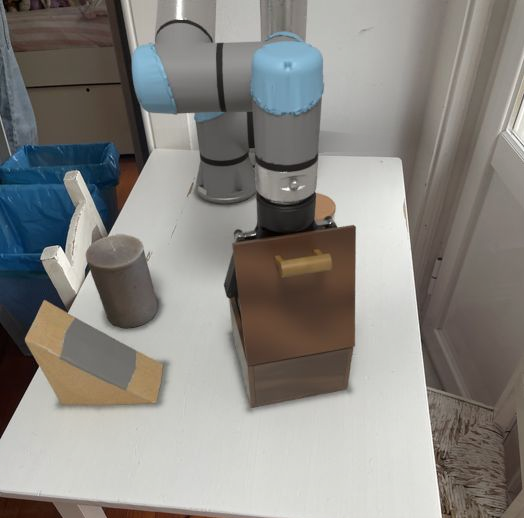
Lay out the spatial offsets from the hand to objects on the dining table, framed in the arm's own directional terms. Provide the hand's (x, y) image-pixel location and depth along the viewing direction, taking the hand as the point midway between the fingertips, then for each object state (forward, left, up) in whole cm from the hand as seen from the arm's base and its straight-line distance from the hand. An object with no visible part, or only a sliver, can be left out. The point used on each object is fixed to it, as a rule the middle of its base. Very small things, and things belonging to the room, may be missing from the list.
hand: (285, 319), depth 76 cm
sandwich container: (+13, -25, -8) cm, 30 cm away
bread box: (+1, +1, -8) cm, 8 cm away
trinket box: (-35, -3, -8) cm, 36 cm away
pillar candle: (-4, -30, -8) cm, 32 cm away
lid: (+6, +3, +10) cm, 12 cm away
